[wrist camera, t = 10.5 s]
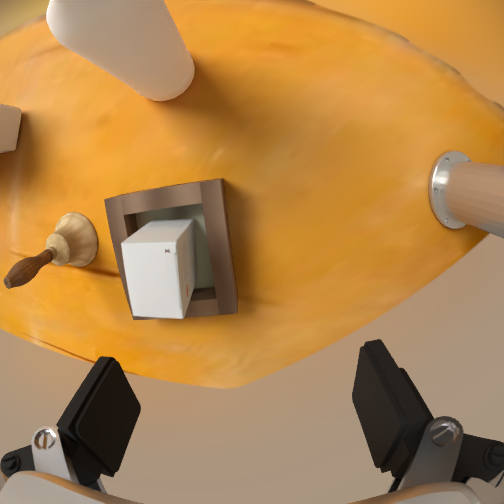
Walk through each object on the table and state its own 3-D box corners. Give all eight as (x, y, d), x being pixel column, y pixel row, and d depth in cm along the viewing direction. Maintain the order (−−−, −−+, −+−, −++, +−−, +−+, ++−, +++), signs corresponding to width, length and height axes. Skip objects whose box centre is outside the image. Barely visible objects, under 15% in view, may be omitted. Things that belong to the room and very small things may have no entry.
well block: (222, 178, 33) (220, 179, 28) (237, 296, 37) (237, 313, 33) (119, 195, 32) (104, 199, 28) (143, 304, 37) (133, 320, 33)
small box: (152, 218, 33) (119, 240, 23) (195, 217, 33) (176, 240, 23) (158, 277, 35) (131, 317, 25) (198, 278, 35) (184, 320, 25)
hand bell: (104, 226, 34) (33, 266, 18) (90, 275, 36) (30, 330, 20) (62, 203, 32) (-14, 229, 17) (51, 251, 34) (-15, 292, 19)
